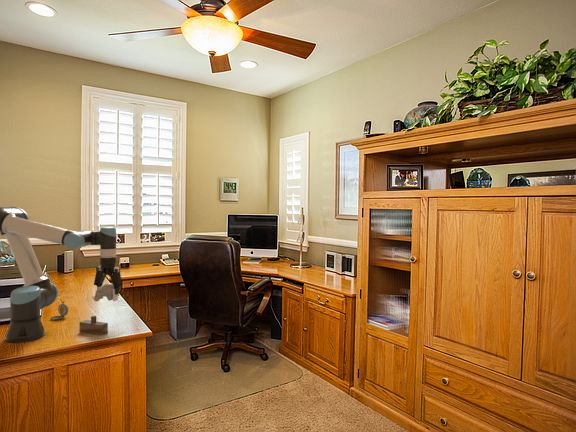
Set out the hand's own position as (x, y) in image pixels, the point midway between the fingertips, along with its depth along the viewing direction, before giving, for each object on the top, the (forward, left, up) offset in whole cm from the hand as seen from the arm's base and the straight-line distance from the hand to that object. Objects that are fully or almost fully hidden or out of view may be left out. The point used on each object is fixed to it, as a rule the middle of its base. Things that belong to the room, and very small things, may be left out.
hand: (107, 299), depth 195 cm
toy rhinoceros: (-1, +1, 0) cm, 1 cm away
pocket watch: (+2, +36, -15) cm, 39 cm away
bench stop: (-9, 0, -14) cm, 17 cm away
